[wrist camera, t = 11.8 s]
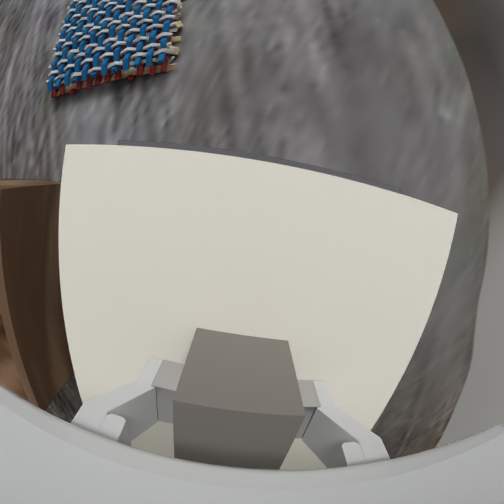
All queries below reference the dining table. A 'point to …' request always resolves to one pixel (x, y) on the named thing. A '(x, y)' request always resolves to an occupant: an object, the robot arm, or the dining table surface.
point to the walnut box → (31, 292)
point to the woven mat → (113, 42)
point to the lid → (242, 292)
